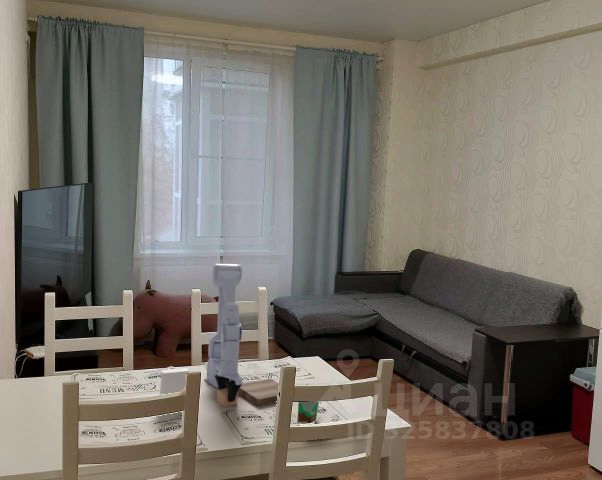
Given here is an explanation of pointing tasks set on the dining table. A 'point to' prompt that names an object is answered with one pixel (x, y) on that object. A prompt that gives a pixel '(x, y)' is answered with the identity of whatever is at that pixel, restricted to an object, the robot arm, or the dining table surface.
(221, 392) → the terracotta block
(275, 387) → the walnut base
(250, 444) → the dining table surface
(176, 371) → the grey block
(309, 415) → the food container
